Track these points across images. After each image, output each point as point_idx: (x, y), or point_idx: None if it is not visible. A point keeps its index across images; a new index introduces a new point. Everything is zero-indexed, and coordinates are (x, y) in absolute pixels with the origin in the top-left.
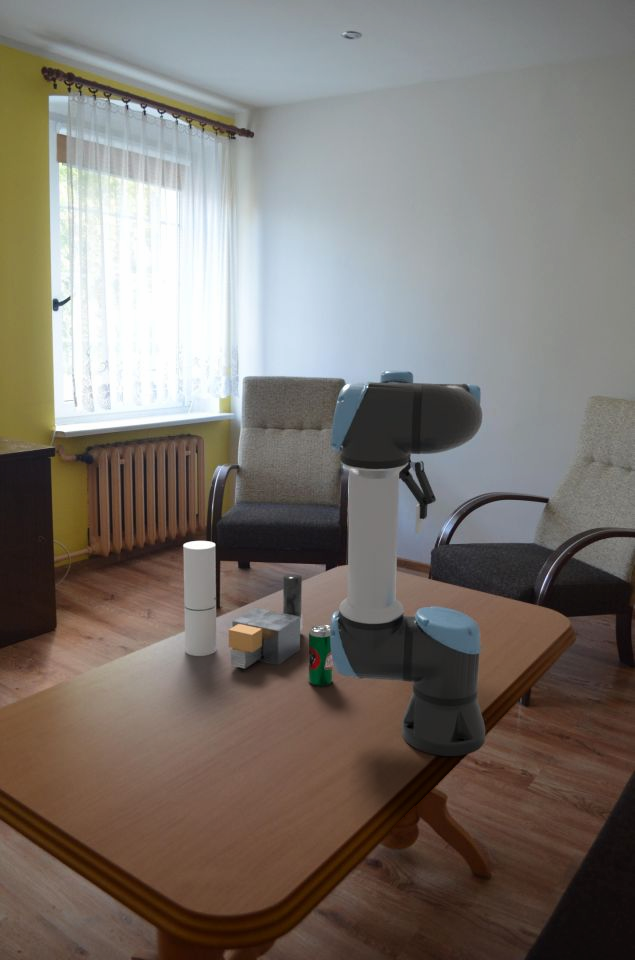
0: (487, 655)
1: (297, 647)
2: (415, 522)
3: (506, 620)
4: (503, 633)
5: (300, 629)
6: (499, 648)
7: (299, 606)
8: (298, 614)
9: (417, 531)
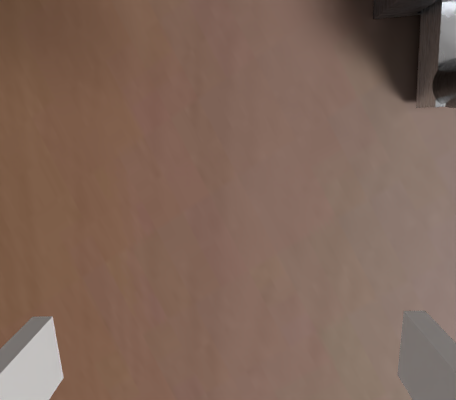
0: (34, 216)
1: (377, 3)
2: (9, 363)
3: (85, 388)
4: (60, 328)
5: (418, 97)
6: (32, 259)
7: (453, 77)
8: (441, 75)
9: (30, 324)
